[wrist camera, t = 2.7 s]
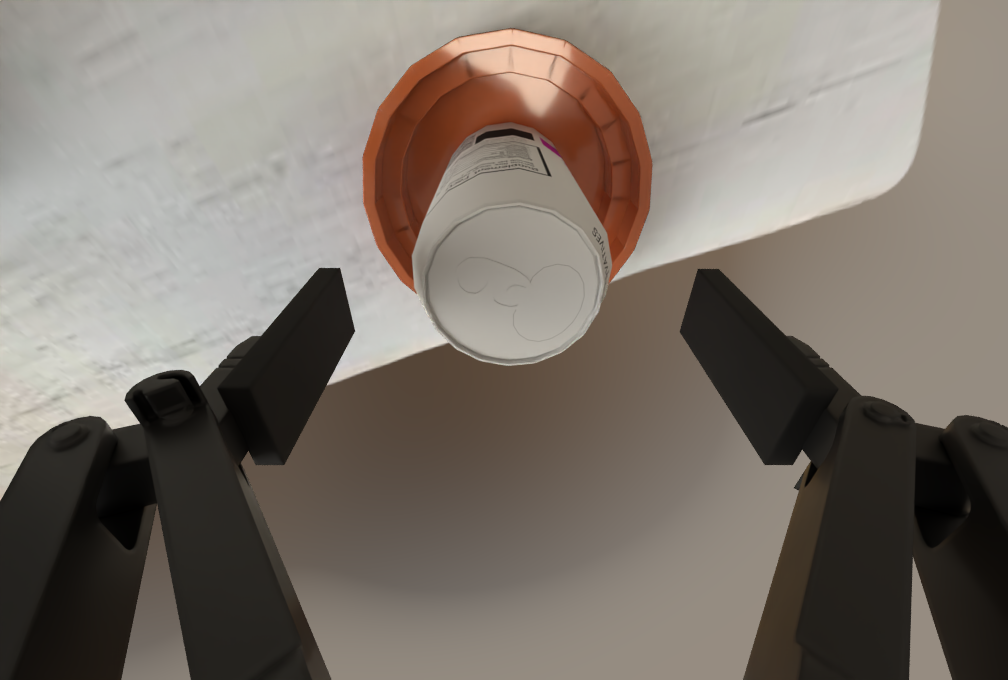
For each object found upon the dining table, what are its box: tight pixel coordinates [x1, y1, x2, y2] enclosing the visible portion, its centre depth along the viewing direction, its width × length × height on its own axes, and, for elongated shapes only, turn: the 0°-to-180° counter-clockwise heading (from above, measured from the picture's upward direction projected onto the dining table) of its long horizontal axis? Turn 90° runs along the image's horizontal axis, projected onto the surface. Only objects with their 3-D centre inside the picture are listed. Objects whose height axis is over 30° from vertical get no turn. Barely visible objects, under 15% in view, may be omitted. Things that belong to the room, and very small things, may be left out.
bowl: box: [363, 28, 652, 294], centre depth 27 cm, size 17×17×4 cm
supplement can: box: [412, 122, 612, 366], centre depth 22 cm, size 8×8×15 cm
